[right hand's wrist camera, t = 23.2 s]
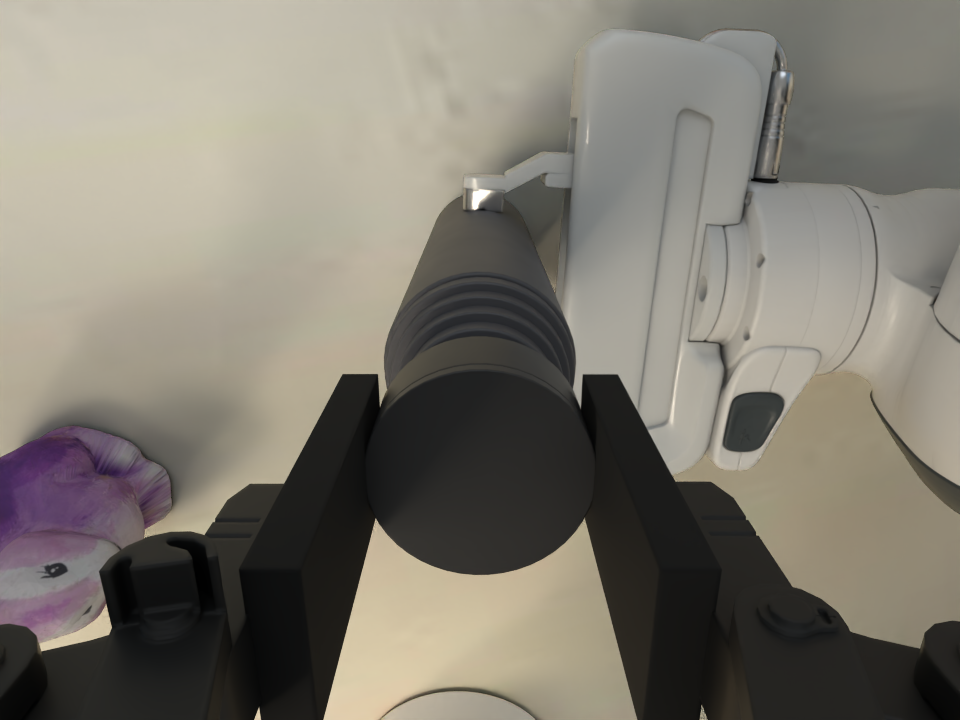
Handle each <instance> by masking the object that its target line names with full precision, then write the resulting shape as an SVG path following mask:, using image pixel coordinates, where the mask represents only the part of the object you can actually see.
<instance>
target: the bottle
mask: <svg viewBox="0 0 960 720" xmlns="http://www.w3.org/2000/svg"><path fill="white" fill-rule="evenodd" d="M475 336H487V337H496V338H502V339H506V340H510V341H514V342H517V343H519V344H522V345H525V346H527V347H529V348H531V349H533V350H534V351H536V352H538V353H540V354H541V355H542V356H544V357H545V358H547V359H548V360H549V361H550V362H551V363H552V364H554V365H555V366H556V367H557V368H558V369H559V370H560V372H561V373H562V374H563V375H564V377H565V378H566V379H567V381H568V382H569V384H570V386H571V387H572V389H573V386H574V380H575V370H576V352H575V346H574V341H573V337H572V334H571V331H570V329H569V326H568V324H567V321H566V319H565V317H564V314H563V312H562V310H561V307H560V305H559V302H558V300H557V298H556V295H555V293H554V291H553V288H552V286H551V284H550V281H549V279H548V276H547V274H546V272H545V269H544V267H543V265H542V262H541V260H540V258H539V255H538V253H537V250H536V248H535V246H534V243H533V241H532V239H531V236H530V234H529V232H528V229H527V227H526V225H525V222H524V220H523V218H522V216H521V215H520V213H519V212H518V210H517V209H516V208H515V207H514V206H513V205H512V204H510V203H509V202H508V201H506V200H505V199H504V200H503V212H491V211H486V210H485V209H484V208H482V209H480V210H477V211H467V210H463V196H461V197H459V198H457V199H455V200H454V201H452V202H451V203H450V204H448V205H447V206H446V207H445V208H444V210H443V211H442V212H441V213H440V215H439V217H438V218H437V220H436V223H435V225H434V228H433V230H432V232H431V235H430V237H429V239H428V242H427V244H426V246H425V249H424V251H423V254H422V256H421V258H420V261H419V263H418V265H417V268H416V270H415V273H414V275H413V277H412V280H411V282H410V284H409V287H408V289H407V291H406V294H405V296H404V299H403V301H402V303H401V306H400V308H399V310H398V313H397V315H396V317H395V320H394V322H393V325H392V327H391V329H390V332H389V334H388V338H387V342H386V346H385V354H384V370H385V379H386V385H387V389H388V388H389V386H390V384H391V382H392V381H393V379H394V378H395V377H396V375H397V374H398V373H399V372H400V371H401V370H402V369H403V368H404V367H405V366H406V365H407V364H408V363H409V362H410V361H411V360H412V359H414V358H415V357H416V356H418V355H419V354H421V353H422V352H424V351H426V350H428V349H429V348H431V347H433V346H436V345H438V344H441V343H443V342H446V341H450V340H454V339H458V338H465V337H475Z"/></svg>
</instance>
